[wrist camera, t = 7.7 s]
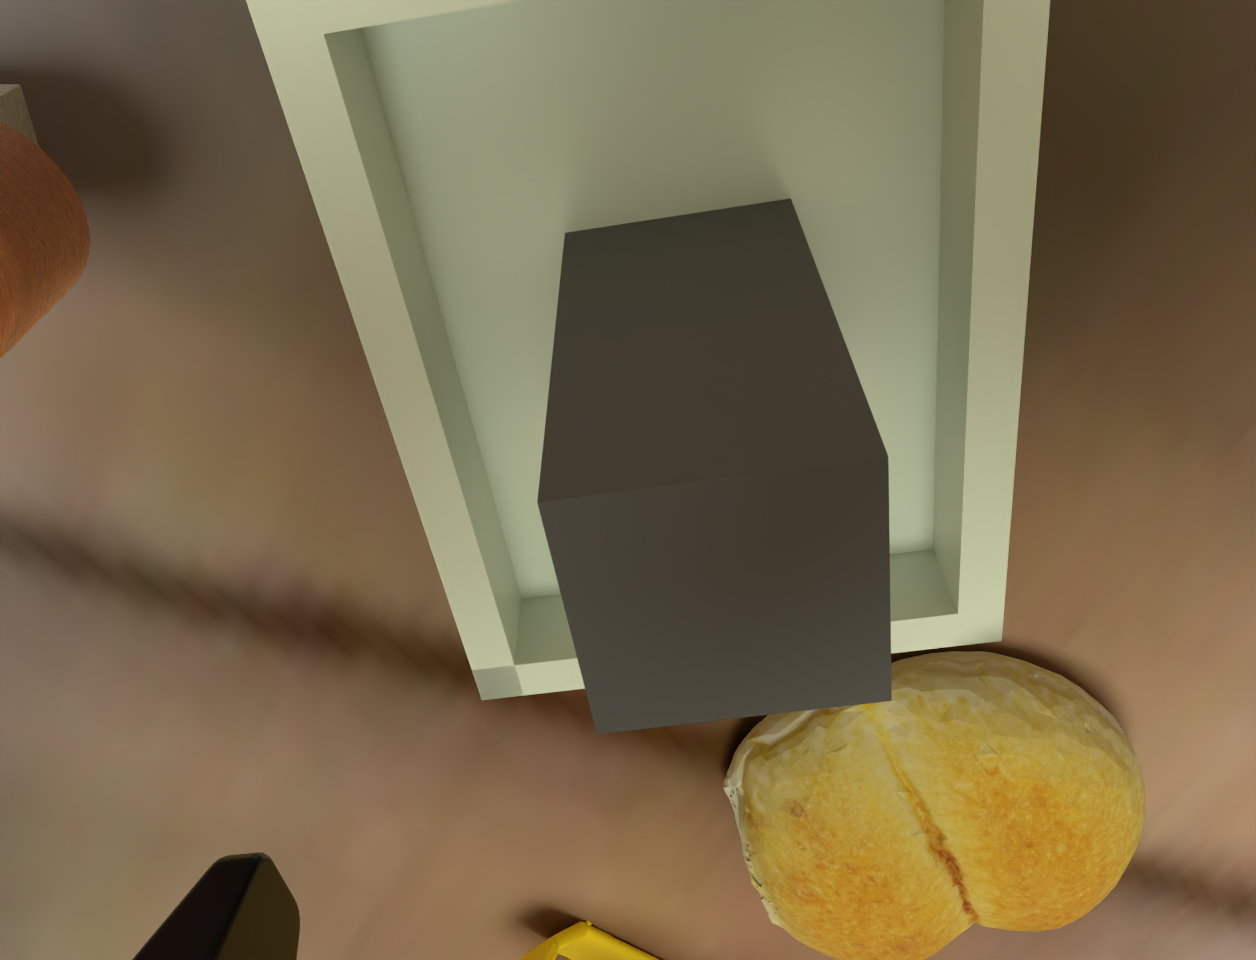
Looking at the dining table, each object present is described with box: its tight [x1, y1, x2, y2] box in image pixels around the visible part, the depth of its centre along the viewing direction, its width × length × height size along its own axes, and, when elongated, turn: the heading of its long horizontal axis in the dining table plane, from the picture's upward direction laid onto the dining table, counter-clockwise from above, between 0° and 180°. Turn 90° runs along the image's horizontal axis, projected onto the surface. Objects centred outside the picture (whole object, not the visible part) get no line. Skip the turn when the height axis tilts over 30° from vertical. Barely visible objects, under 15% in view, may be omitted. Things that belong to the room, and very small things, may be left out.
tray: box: [246, 0, 1050, 700], centre depth 17 cm, size 10×13×2 cm
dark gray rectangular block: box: [537, 198, 892, 734], centre depth 14 cm, size 4×4×7 cm
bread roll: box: [723, 651, 1145, 960], centre depth 23 cm, size 8×9×4 cm
